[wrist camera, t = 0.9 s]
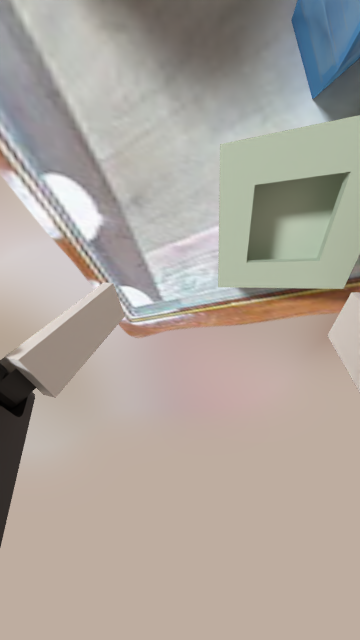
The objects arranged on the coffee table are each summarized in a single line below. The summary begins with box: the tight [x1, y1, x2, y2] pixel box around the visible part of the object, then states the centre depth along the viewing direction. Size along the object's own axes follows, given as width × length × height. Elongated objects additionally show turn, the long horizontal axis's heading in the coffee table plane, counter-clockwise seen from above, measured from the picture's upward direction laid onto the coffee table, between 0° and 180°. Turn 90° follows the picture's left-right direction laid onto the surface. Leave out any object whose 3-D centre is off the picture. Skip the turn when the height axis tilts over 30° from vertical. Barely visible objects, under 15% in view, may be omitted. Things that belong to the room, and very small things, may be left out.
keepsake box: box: [218, 115, 360, 289], centre depth 23 cm, size 16×16×6 cm
